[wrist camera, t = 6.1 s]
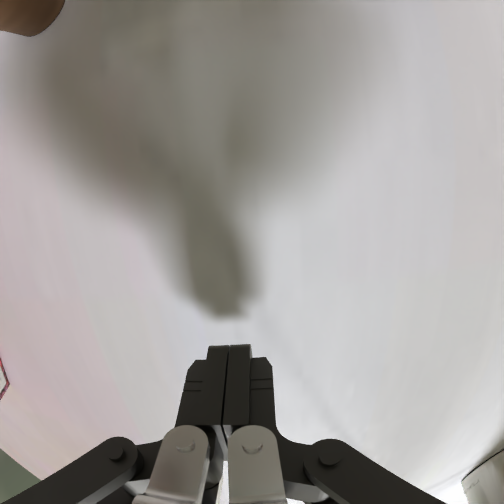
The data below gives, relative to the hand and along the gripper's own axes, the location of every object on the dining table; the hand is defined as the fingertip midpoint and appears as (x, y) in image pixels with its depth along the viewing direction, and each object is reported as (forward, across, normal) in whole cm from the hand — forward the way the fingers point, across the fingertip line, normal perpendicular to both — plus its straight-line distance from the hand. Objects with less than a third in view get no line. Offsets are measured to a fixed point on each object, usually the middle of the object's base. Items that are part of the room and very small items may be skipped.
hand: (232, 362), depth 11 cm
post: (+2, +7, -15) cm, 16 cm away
